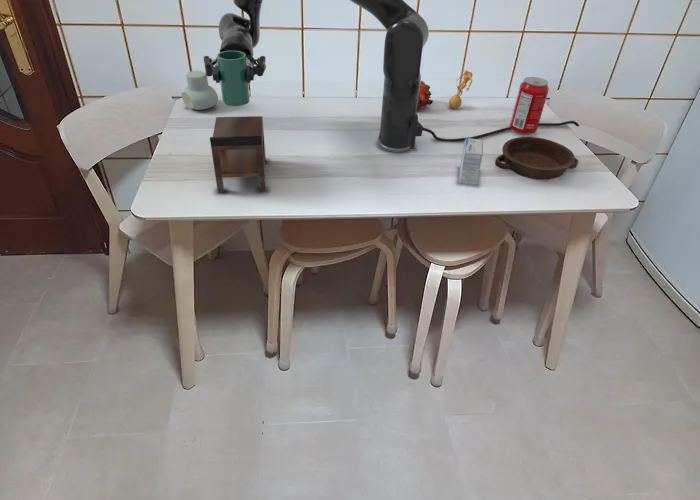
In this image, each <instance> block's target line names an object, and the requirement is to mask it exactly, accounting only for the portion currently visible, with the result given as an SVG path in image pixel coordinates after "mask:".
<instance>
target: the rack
mask: <svg viewBox="0 0 700 500" xmlns="http://www.w3.org/2000/svg"><path fill="white" fill-rule="evenodd" d="M209 142H210V149H211V155H212V162H213V163H212V164H213V169H214V176H215V183H216V190H217V193H218V194H224V193H225V185H224V179H225V178H226V179H229V178H230V179H231V178H258V187H259V188H258V189H259V192H266V191H267V188H266V175H265V173H266V172H265V171H266V169H265V168H266V167H265V166H266V165H265V163H267V158H266V157H267V156H266V145H265V131H264V117H263V116H262V115H259V116H257V115H256V116H216V117H215V122H214V127H213V133H212V136H210V137H209Z"/></svg>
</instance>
